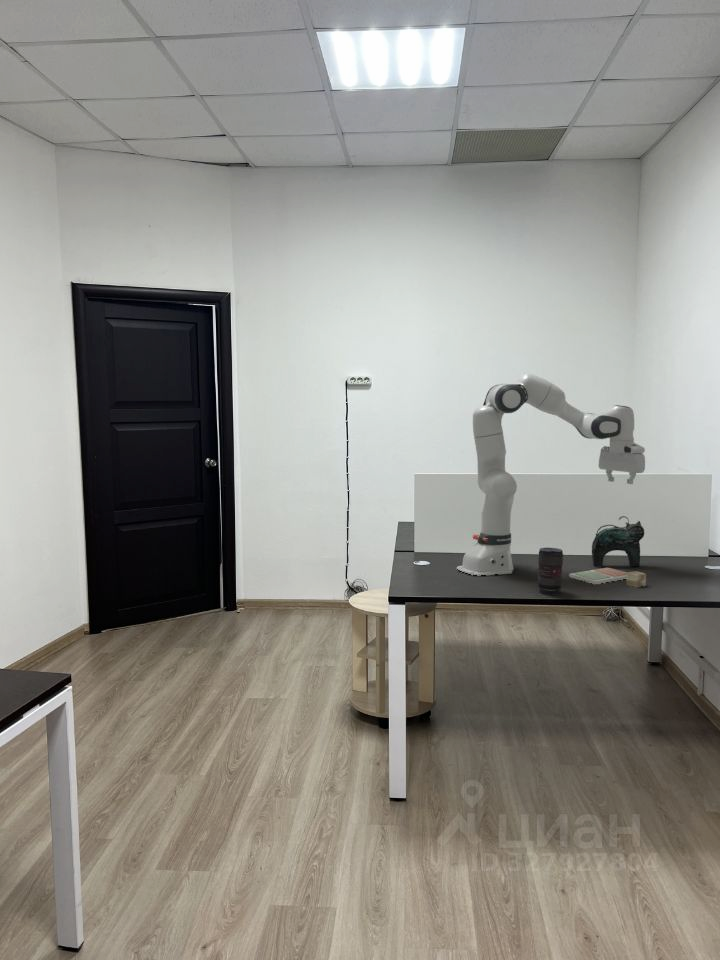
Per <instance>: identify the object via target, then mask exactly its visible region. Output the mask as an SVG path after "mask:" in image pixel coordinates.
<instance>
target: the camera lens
mask: <svg viewBox="0 0 720 960" xmlns="http://www.w3.org/2000/svg"><path fill="white" fill-rule="evenodd" d="M563 563H564V553H563V549H561V548H557V547H540V548H539V551H538V575H537V584H538V589H539V592H540V593H541V594H543V593H544V595H551V594H552V595H558V594H560V591H561V588H562V584H563V583H562V582H563V581H562V580H563V579H562V577H563V576H562V575H563Z"/></svg>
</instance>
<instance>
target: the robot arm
mask: <svg viewBox="0 0 720 960" xmlns="http://www.w3.org/2000/svg"><path fill="white" fill-rule="evenodd" d="M525 403H526V404H527V405H530V406H531V407H533V408H535V409H537V410H540V411H541V412H543V413H545V414H546V413H547V414H550V415H553V416H557V417H558V418H559V419H562V420H563V421H565V422H567V423H569V424H571V425H572V426H574V428H575V429H576V431H577V432H578V433H579V434H580V435H581V436H582V438H585V439H590V440H591V439H593V440H594V439H595V440H606V439H609V446H607V445H603V446H602V447H601V449H600V454H599V458H598V468H599V470H603V471H604V470H605V474H606V477H607V482H609V483H610V482H611V483H612V482H613V483H614V482H615V477H614V476H613V471H615V472H624V473H629V474H628V475H629V478H627V479H626V484H627V485H633V484H634V480H635V478H636V476H637V474H642V473H644V471H645V470H646V457H645V454H644V453H645V451H646V449H645V447H644V446H641V445H640V444H638V443H636V442H634V440H635V438H634V431H635V412H634V410H633V409H632V407H630V406H626V405H618V404H616V405H612V407H611V408H609V409H607V410H606V411H604V412H601V413H591V412H584V411H581V410H580V409H578V408H577V407H575V406H573V405H571V404H570V403H568V401H566V394H565V392H564V390H562V389H561V388H560V387H558V385H555V384H554V383H552V382H551V381H548V380H547V379H545V378H543V377H540V376H538V375H535V374H532V373H525V374H522V375H521V376H520V377H519V378H518V379H517V381H516V382H515V383H511V384H509V383H499V384H495V385H493V386H492V387H490V388H489V390H488V391H487V393H486V396H485V398H484V402H483V405H481V406H479V407H476V409H474V411H473V412H472V431H473V439H474V445H475V451H476V457H477V484H478V488H479V489H480V491H481V492H482V493H483V494H485V497H484V504H483V509H482V511H481V526H480V527H481V529H480V530H481V531H480V533H479V534H477V533H474V534H472V539H473V540H477V543H475V544H474V545H473V546H472V547H471V548H470V549H469V550H468V551H467V552H465V554H464V555H463V558H462V565H458V566H456V570H457V569H458V570H460V571H462V572H465V573H468V574H471V575H470V576H473V575H477V576H476V577H482V576H481V575H486V576H495V574H498V575H508V574H513V571H514V566H513V560H512V552H511V551H512V550H511V543H512V533H511V520H512V519H511V517H512V516H511V515H512V514H511V513H512V509H513V508H512V507H513V504H514V497H515V494H516V492H517V489H518V488H517V487H518V486H517V481H516V479H515V478H514V477H513V475H512V474H511V473H510V472H507V470H506V454H507V448H506V443H505V437H504V431H503V425H502V420H503V417H504V414H512V413H516V412H517V411H518V410H519V409H520V408H521V407H523V405H525ZM458 570H457V571H458ZM462 572H461V573H462ZM465 573H464V574H465ZM468 574H467V575H468Z"/></svg>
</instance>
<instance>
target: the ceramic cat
mask: <svg viewBox="0 0 720 960" xmlns="http://www.w3.org/2000/svg"><path fill="white" fill-rule="evenodd" d="M622 518H625V519H627V522H625V524H626V525H625V526H623V527H621V526H616V525H613V524H605V525H602V526H600V527H598V529H597V531H596V533H595V536H594V538H593V541H592V544H591V556H592V565H594V566H593V567H595V566H603V567H604V558H605V556H606V555H607V554H608V553H610V552H613V551H621V552H625V554H626V556H627V558H628V565H629V567H631V566H639V567H640V565H641V544H640V541H641V540H642V539H643V538H644V536H645V529H644V527H643V526H642V524H641V521H640V520H637V522H636V523H629V522H630V521H629V520H630V519H629V518H628V517H627V516H624V515H623V516H620V517H619V518H618V521H620V520H621V519H622ZM605 527H606V528H605ZM608 527H609V528H608ZM602 528H603V529H602ZM601 529H602V530H601Z"/></svg>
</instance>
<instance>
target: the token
mask: <svg viewBox="0 0 720 960" xmlns="http://www.w3.org/2000/svg"><path fill="white" fill-rule="evenodd" d="M626 584H628V585H627V586H629V585H632V586H635V587H634V588H636V587H638V588H642V587H641V586H643V587H646V584H647V574H646V573H644V572H640V571H636V570H635V571H630V572H627V579H626ZM632 586H631V587H632Z"/></svg>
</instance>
